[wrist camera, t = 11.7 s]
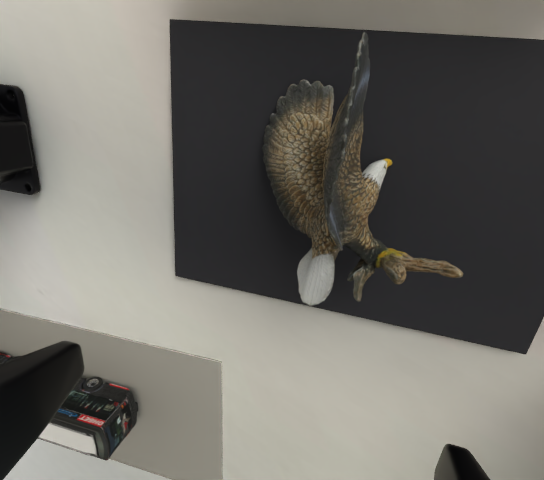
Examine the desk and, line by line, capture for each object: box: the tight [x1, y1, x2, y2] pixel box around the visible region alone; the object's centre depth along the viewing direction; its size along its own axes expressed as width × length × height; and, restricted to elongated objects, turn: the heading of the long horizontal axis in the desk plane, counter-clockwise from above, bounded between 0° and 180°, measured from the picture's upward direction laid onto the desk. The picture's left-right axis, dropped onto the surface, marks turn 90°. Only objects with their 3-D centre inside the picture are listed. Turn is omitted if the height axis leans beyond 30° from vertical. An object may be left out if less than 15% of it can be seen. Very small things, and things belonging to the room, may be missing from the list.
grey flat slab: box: [0, 309, 222, 480], centre depth 28 cm, size 14×25×4 cm, turn 87°
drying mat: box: [170, 19, 544, 354], centre depth 17 cm, size 20×14×1 cm
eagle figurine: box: [262, 32, 463, 306], centre depth 14 cm, size 8×7×9 cm
